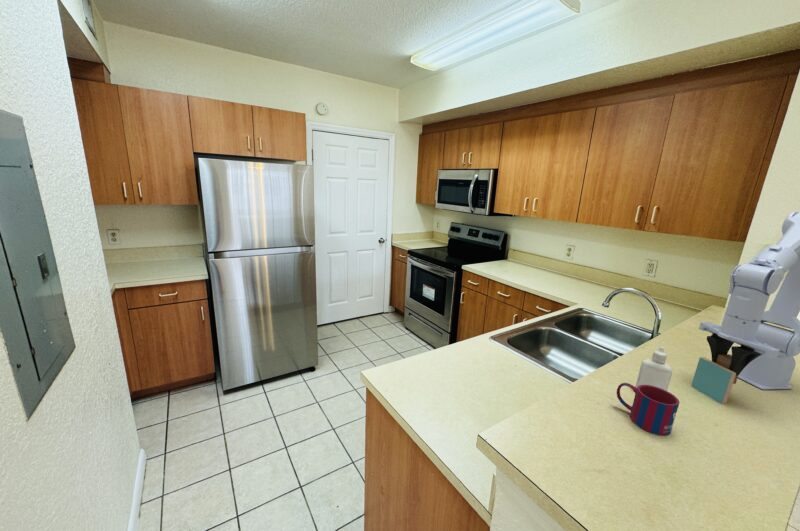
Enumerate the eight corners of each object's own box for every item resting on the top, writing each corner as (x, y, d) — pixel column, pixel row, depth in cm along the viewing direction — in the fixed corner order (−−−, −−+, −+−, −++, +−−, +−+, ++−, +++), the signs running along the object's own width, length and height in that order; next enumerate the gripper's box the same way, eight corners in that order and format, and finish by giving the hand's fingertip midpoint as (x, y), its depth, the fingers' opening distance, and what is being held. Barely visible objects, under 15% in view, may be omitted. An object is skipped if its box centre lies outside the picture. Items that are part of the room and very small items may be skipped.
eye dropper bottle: (657, 402, 73) (671, 354, 70) (631, 388, 78) (643, 343, 75) (667, 398, 75) (681, 351, 72) (641, 385, 80) (653, 340, 77)
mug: (661, 440, 61) (670, 409, 60) (607, 409, 70) (613, 381, 68) (676, 428, 65) (685, 399, 63) (622, 400, 73) (629, 373, 72)
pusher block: (721, 376, 79) (729, 354, 77) (735, 383, 76) (743, 360, 74) (711, 376, 78) (718, 354, 77) (724, 384, 75) (732, 360, 74)
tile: (695, 385, 81) (704, 357, 79) (725, 404, 74) (736, 373, 72) (690, 386, 81) (699, 357, 79) (721, 404, 74) (731, 373, 72)
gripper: (695, 305, 80) (680, 355, 83) (767, 330, 66) (746, 389, 69) (719, 305, 81) (704, 354, 84) (795, 330, 67) (773, 388, 70)
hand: (724, 370), depth 76 cm, fingers closed on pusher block, 3 cm apart
